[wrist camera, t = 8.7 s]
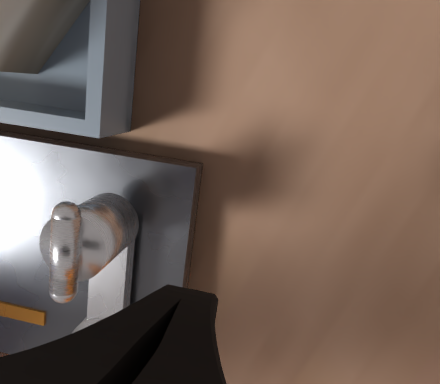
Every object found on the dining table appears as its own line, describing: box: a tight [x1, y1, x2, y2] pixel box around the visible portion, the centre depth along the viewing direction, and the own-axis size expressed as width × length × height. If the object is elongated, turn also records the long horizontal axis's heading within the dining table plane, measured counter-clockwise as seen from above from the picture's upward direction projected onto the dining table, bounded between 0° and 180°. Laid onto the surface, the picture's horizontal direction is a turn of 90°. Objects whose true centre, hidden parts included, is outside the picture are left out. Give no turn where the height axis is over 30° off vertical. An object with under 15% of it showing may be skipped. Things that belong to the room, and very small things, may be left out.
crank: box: [39, 193, 139, 333], centre depth 16 cm, size 9×3×5 cm, turn 173°
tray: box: [0, 0, 140, 138], centre depth 16 cm, size 9×9×3 cm
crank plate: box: [0, 130, 203, 354], centre depth 20 cm, size 12×11×1 cm
